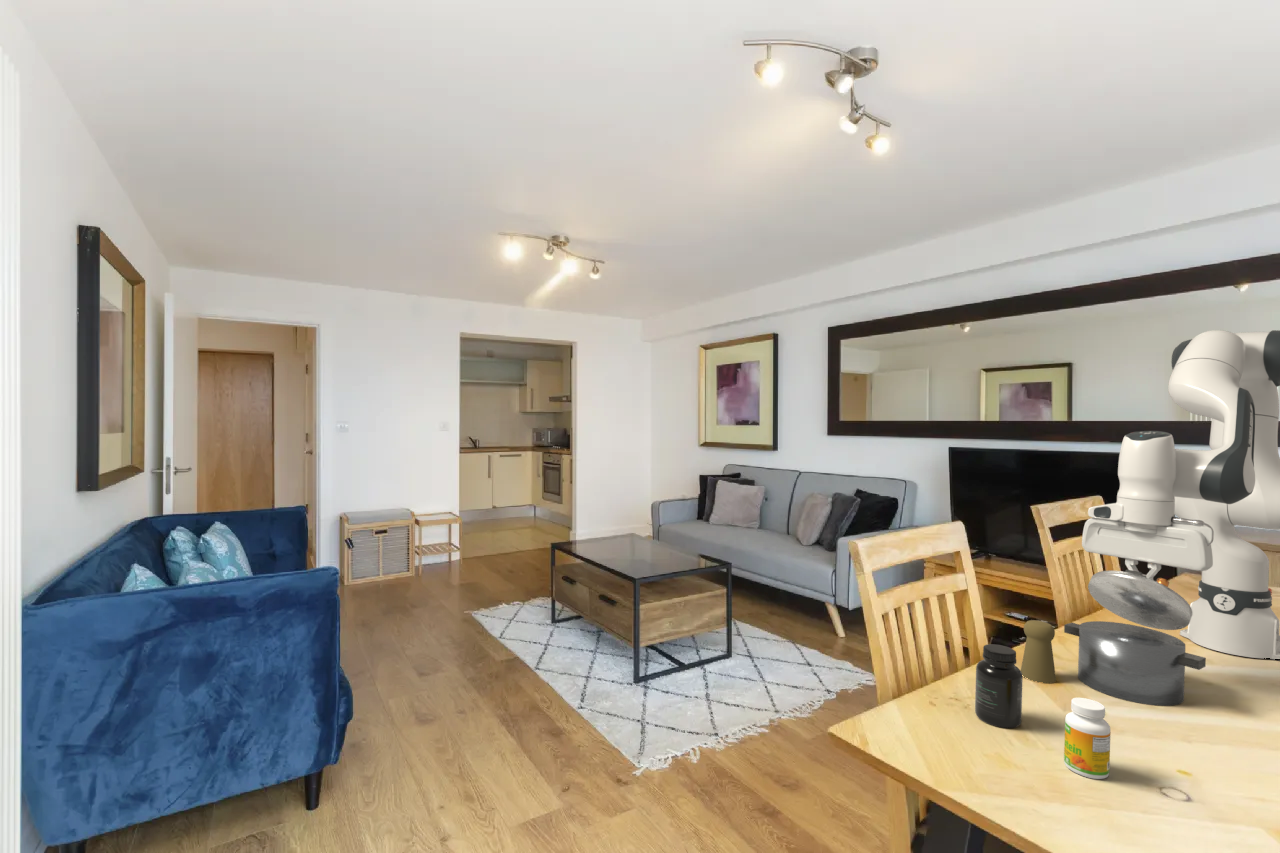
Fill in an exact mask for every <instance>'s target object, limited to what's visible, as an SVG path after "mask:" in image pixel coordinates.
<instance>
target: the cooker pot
mask: <svg viewBox="0 0 1280 853" xmlns="http://www.w3.org/2000/svg"><path fill="white" fill-rule="evenodd" d="M1063 626H1064V627H1063V631H1064V632H1063V633H1065V634H1068V635H1072V636H1076V637H1078V666H1077V667H1078V668H1077V678H1078V680H1079V681H1080V682H1081V683H1083V684H1084V685H1085V686H1087V687H1088V688H1090V689H1093V690H1095V691H1096V692H1099V693H1101V694H1105V695H1108V696H1111V697H1112V698H1117V699H1120V700H1124V701H1127V702H1131V703H1137V704H1143V705H1149V706H1162V707H1163V706H1164V707H1171V706H1178V705H1180V704H1182V703H1184V700H1185V676H1186V674H1185V673H1186V672H1185V670H1186V668H1191V669H1194V670H1197V671H1199V670H1202V669H1203V668H1206V664H1207V663H1206V662H1207V661H1206V657H1205V656H1200V655H1197V654H1193V653H1188V652H1186V643H1185V642H1184V641H1183V640H1181V639H1180V638H1178V637H1176V636H1174V635H1172V634H1168V633H1166V632H1162V631H1161V630H1157V629H1154V628H1150V627H1146V626H1141V625H1139V626H1138V625H1134V624H1129V623H1123V622H1113V621H1103V620H1102V621H1099V620H1098V621H1096V620H1095V621H1094V620H1093V621H1084V622H1081V623H1079V624H1078V623H1076V622H1069V623H1065V624H1064V625H1063ZM1185 667H1186V668H1185Z"/></svg>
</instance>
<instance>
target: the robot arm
mask: <svg viewBox="0 0 1280 853" xmlns="http://www.w3.org/2000/svg"><path fill="white" fill-rule="evenodd" d="M1171 369H1172V370H1171V371H1172V372H1171V375H1170V376H1169V380H1168V386H1167V391H1168V394H1169V397H1170V398H1171V400H1172V401H1173V402H1174V404H1176V405H1177V406H1179V407H1180V408H1181V409H1183V410H1185V411H1187V412H1188V413H1191V414H1194V415H1197V416H1202V417H1205V418H1210V419H1211V425H1210V434H1209V447H1210V449H1207V450H1206V449H1205V450H1203V449H1181V448H1176V447H1175V441H1174V437H1173V435H1172V434H1171V433H1169V432H1166V431H1162V430H1161V431H1160V430H1144V431H1143V430H1142V431H1140V430H1139V431H1138V430H1137V431H1133V432H1130V433H1129V432H1128V433H1127V434H1125V435H1124V437H1123V439H1122V442H1121V445H1120V450H1119V455H1118V462H1117V464H1118V465H1117V466H1118V467H1117V476H1118V477H1117V478H1118V480H1119V489H1118V490H1117V495H1116V502H1110V503H1109V502H1108V503H1106V504H1102V505H1101V504H1100V505H1094V506H1091V507H1088V510H1087V515H1088V517H1089V519H1087V520H1086V521H1085V522H1084V526H1083V530H1082V536H1081V537H1082V538H1081V547H1082V548H1083V550H1084V551H1085V552H1087V553H1093V554H1098V555H1103V556H1109V557H1115V558H1121V559H1125V561H1124V565H1125V566H1126V568H1127V570H1132V571H1137V572H1140V571H1139V570H1138V568H1137V565H1138V564H1139V562H1142V563H1143V562H1144V563H1147V568H1148V569H1149V571H1148V572H1147V573H1146V574H1144V573H1142V575H1143V577H1146V578H1149V579H1151V580H1154V577H1155V576H1156V575H1157V574H1158V572H1159V571H1160V570H1161V569H1162V566H1167V567H1168V566H1169V567H1173V568H1179V569H1185V570H1186V569H1187V570H1191V571H1197V572H1201V580H1199V582H1198V586H1197V589H1198V593H1197V594H1198V596H1199V598H1198V599H1196V600H1194V601H1192V602H1191V603H1190V604H1189V605H1190V607H1191V608H1192V612H1193V615H1192V617H1191V620H1190V623H1189V625H1188V626H1187V628H1184V629H1179V635H1180V636H1182V637H1184V638H1186V639H1189V640H1190V642H1192V643H1194V644H1197V645H1199V646H1201V647H1204V648H1207V649H1209V650H1213V651H1218V652H1221V653H1225V654H1229V655H1235V656H1240V657H1246V658H1251V659H1252V658H1253V659H1254V658H1255V659H1264V658H1265V659H1266V658H1270V659H1269V660H1275V659H1280V619H1279V618H1278V617H1277V615H1276V614H1275V612H1274V610H1273V609H1272V608H1271V607H1272V605H1273V604H1272V602H1273V601H1272V600H1273V596H1272V595H1273V594H1272V593H1273V590H1272V588H1270V587H1269V581H1270V580H1269V579H1270V578H1269V573H1270V560H1269V557H1268V555H1267V554H1266V553H1265V552H1264V551H1263V549H1261V548H1260V547H1259V546H1257V545H1255V544H1253V543H1251V542H1249V541H1247V540H1245V539H1243V538H1242V537H1241V536H1239V534H1238V532H1237V531H1236V528H1235V526H1240V527H1247V528H1256V529H1263V530H1273V531H1280V454H1279V448H1278V446H1279V445H1278V444H1279V443H1278V442H1279V441H1278V440H1279V439H1278V434H1279V432H1278V431H1279V420H1280V419H1279V418H1280V399H1279V390H1278V387H1280V330H1279V329H1278V330H1271V331H1244V332H1243V331H1242V332H1231V331H1228V330H1223V329H1213V330H1206V331H1203V332H1201V333H1199V334H1197V335H1196V336H1194V337H1193V338H1191V339H1188V340H1187V339H1186V340H1184V341H1182V342H1180V343H1179V344H1178V345H1177V346H1176V347H1175V348H1174V349H1173V351H1172V354H1171ZM1266 660H1267V659H1266Z"/></svg>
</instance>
